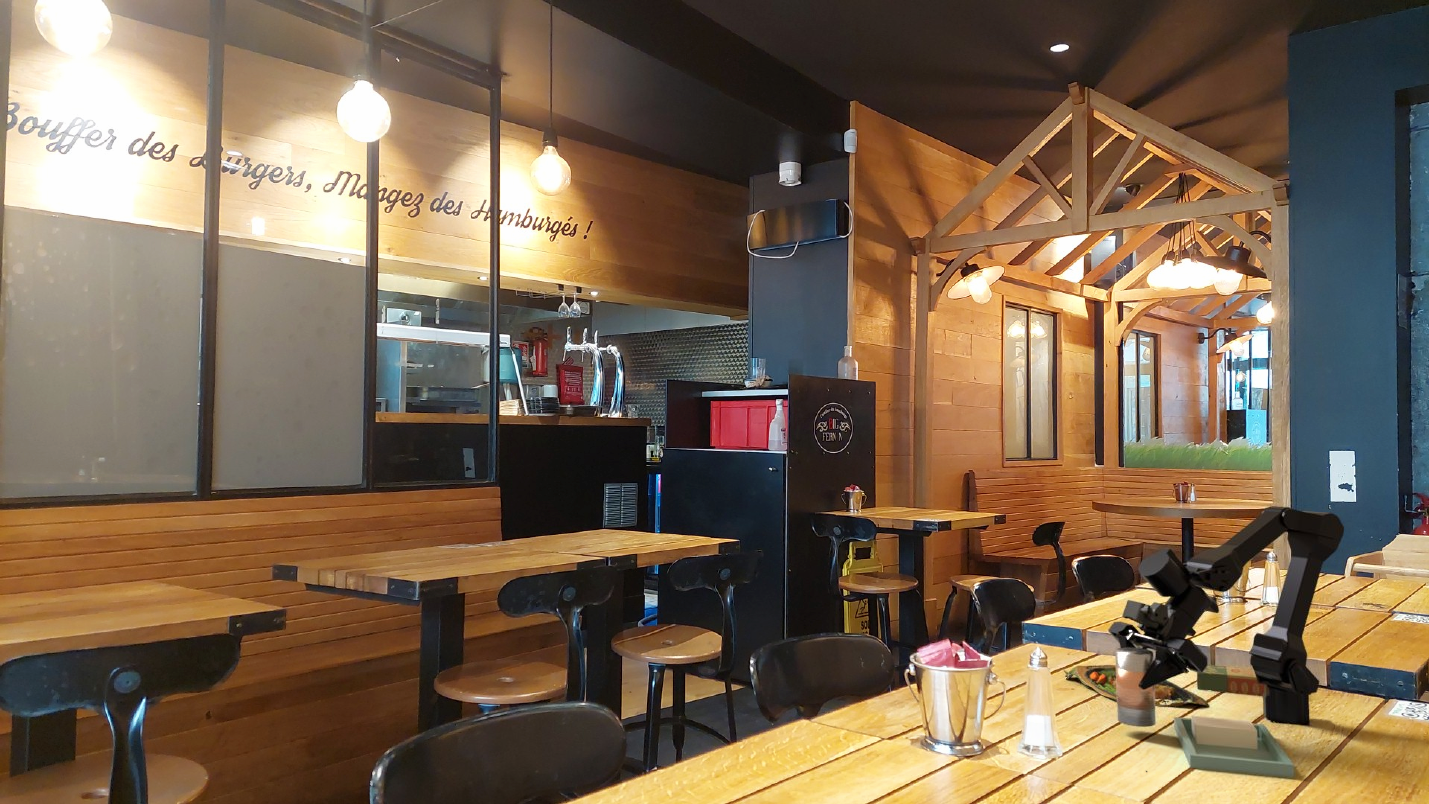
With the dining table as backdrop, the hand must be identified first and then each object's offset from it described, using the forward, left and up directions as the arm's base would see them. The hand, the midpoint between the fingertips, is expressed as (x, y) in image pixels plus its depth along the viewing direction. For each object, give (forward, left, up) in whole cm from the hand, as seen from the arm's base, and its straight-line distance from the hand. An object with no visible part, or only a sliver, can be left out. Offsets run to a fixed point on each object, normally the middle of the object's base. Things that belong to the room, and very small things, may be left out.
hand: (1128, 683), depth 165 cm
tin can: (-1, -1, -7) cm, 7 cm away
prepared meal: (-3, -35, -10) cm, 37 cm away
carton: (-24, -43, -10) cm, 51 cm away
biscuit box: (-15, -2, -9) cm, 17 cm away
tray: (-15, +4, -9) cm, 18 cm away
